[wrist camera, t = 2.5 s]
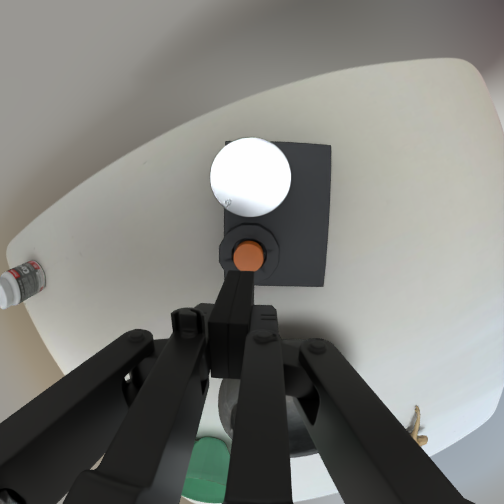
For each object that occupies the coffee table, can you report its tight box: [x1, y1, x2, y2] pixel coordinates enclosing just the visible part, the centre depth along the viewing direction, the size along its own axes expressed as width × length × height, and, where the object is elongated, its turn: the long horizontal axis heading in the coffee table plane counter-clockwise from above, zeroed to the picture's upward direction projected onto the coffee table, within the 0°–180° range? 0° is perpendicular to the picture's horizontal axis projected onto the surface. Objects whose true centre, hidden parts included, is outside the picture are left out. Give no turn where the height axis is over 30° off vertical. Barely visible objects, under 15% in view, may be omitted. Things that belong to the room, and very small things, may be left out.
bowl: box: [218, 339, 319, 458], centre depth 27 cm, size 15×15×10 cm
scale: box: [219, 141, 331, 287], centre depth 26 cm, size 14×10×4 cm
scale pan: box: [210, 137, 291, 217], centre depth 23 cm, size 7×7×1 cm
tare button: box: [233, 241, 263, 272], centre depth 25 cm, size 3×3×2 cm
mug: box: [181, 437, 230, 503], centre depth 31 cm, size 15×10×10 cm
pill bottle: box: [0, 261, 45, 309], centre depth 27 cm, size 5×5×8 cm
